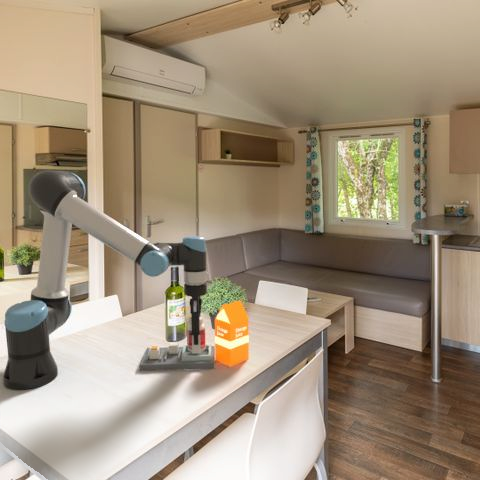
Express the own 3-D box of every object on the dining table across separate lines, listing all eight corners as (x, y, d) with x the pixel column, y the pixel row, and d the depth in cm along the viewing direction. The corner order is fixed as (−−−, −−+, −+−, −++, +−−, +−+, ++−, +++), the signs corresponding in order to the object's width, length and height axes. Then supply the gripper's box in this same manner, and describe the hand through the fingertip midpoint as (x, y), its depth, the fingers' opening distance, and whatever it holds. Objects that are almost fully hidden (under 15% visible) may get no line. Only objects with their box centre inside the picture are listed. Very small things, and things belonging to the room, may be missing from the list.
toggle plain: (169, 354, 145) (168, 345, 144) (169, 350, 148) (169, 342, 147) (177, 353, 145) (177, 345, 144) (178, 350, 148) (178, 342, 147)
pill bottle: (208, 350, 143) (208, 319, 142) (192, 354, 140) (191, 322, 139) (200, 344, 149) (199, 314, 147) (184, 348, 145) (183, 317, 144)
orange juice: (214, 359, 145) (214, 303, 142) (233, 352, 151) (232, 297, 149) (230, 366, 140) (230, 308, 137) (249, 358, 146) (249, 302, 143)
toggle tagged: (149, 359, 141) (149, 349, 140) (150, 355, 144) (150, 345, 143) (158, 358, 141) (158, 349, 140) (159, 355, 144) (159, 345, 143)
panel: (140, 370, 137) (139, 360, 136) (147, 353, 151) (146, 343, 150) (214, 368, 138) (214, 358, 138) (214, 351, 152) (214, 342, 152)
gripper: (206, 289, 132) (207, 360, 135) (207, 276, 151) (208, 338, 154) (181, 290, 131) (183, 361, 135) (186, 276, 150) (187, 338, 154)
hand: (196, 348), depth 144 cm, fingers closed on pill bottle, 6 cm apart
